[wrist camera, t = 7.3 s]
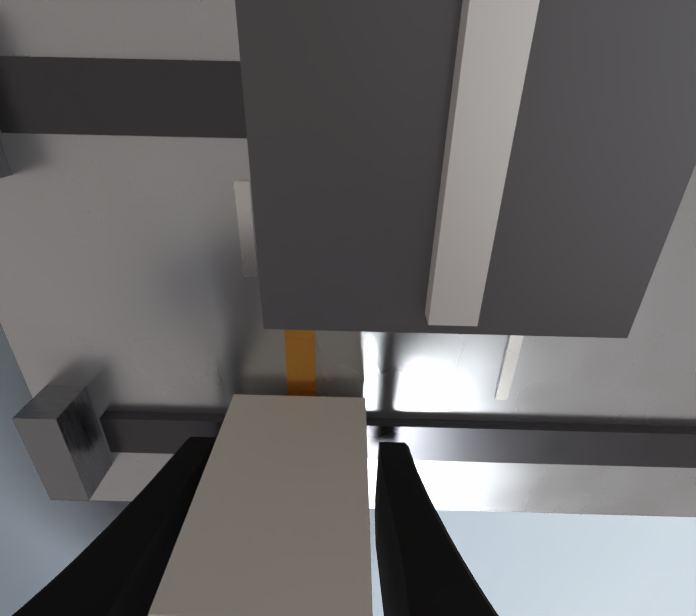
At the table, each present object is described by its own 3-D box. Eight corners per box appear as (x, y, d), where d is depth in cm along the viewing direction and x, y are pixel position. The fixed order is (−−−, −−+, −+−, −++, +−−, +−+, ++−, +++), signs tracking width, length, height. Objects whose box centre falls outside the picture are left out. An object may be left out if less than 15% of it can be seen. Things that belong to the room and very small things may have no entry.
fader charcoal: (483, 201, 8) (640, 351, 4) (312, 197, 8) (258, 341, 4) (518, -9, 6) (872, -206, 2) (308, -13, 6) (206, -220, 2)
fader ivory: (360, 487, 12) (364, 731, 7) (246, 484, 12) (180, 726, 7) (365, 397, 10) (373, 637, 6) (233, 394, 10) (141, 630, 6)
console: (832, 488, 14) (919, 561, 12) (97, 467, 14) (50, 537, 12) (1301, -77, 7) (1701, -143, 5) (-116, -106, 7) (-312, -184, 5)
